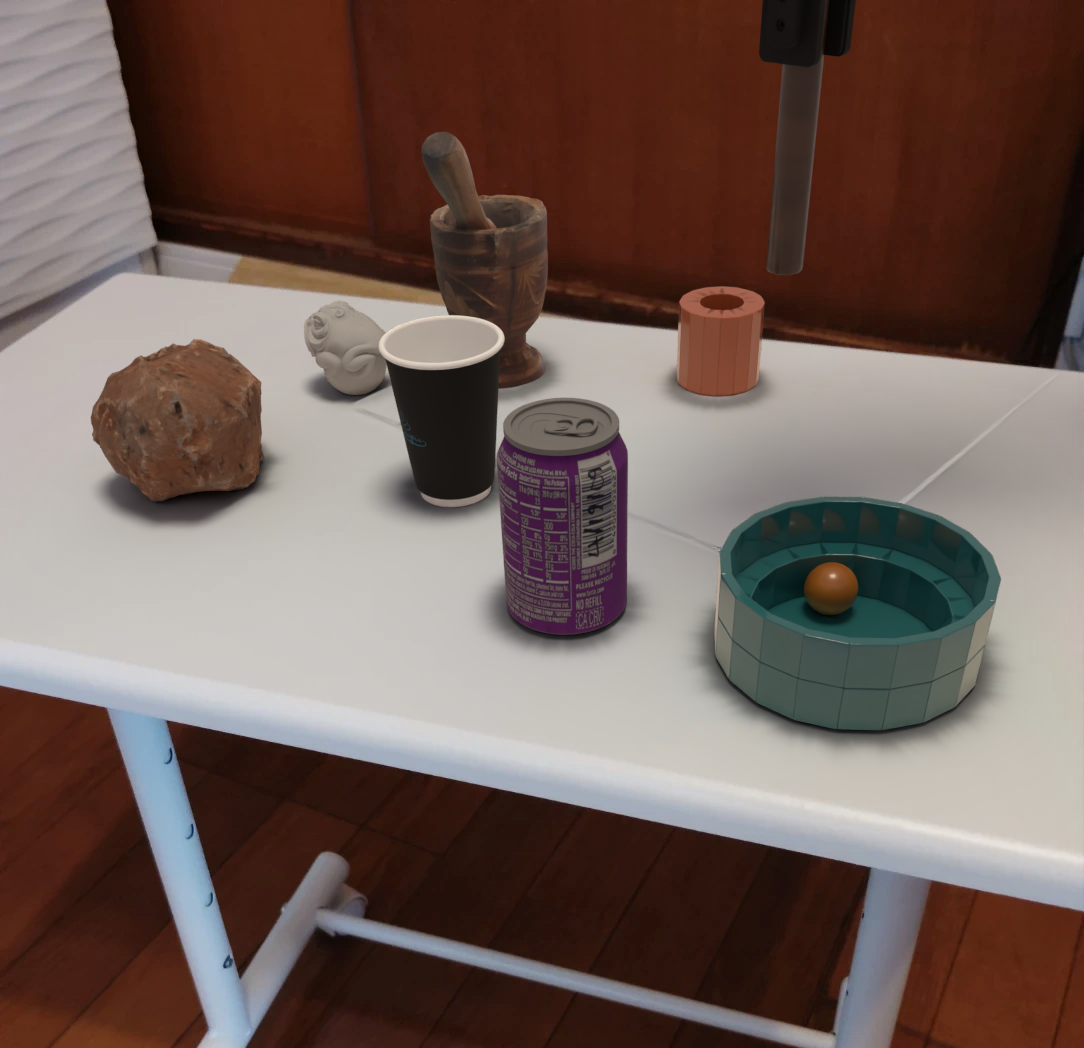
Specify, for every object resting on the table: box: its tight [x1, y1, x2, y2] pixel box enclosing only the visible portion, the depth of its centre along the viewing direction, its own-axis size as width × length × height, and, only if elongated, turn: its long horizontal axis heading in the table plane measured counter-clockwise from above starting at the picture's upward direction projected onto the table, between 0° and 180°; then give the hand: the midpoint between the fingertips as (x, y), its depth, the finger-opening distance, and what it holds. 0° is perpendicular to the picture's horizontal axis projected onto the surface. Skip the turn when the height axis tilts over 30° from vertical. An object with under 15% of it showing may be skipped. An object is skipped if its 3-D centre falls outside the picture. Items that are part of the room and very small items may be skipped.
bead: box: [804, 562, 858, 615], centre depth 67 cm, size 3×3×3 cm
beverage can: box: [496, 397, 629, 635], centre depth 66 cm, size 7×7×12 cm
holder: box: [676, 285, 766, 397], centre depth 90 cm, size 6×6×7 cm
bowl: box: [713, 496, 1002, 731], centre depth 64 cm, size 14×14×6 cm
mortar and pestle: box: [421, 131, 549, 390], centre depth 88 cm, size 12×9×20 cm
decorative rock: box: [90, 338, 265, 502], centre depth 81 cm, size 13×11×10 cm
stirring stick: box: [765, 0, 830, 276], centre depth 61 cm, size 2×2×16 cm
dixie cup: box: [379, 314, 505, 508], centre depth 78 cm, size 8×8×11 cm
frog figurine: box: [303, 300, 388, 396], centre depth 93 cm, size 6×7×7 cm
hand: (804, 54), depth 59 cm, fingers closed on stirring stick, 2 cm apart
